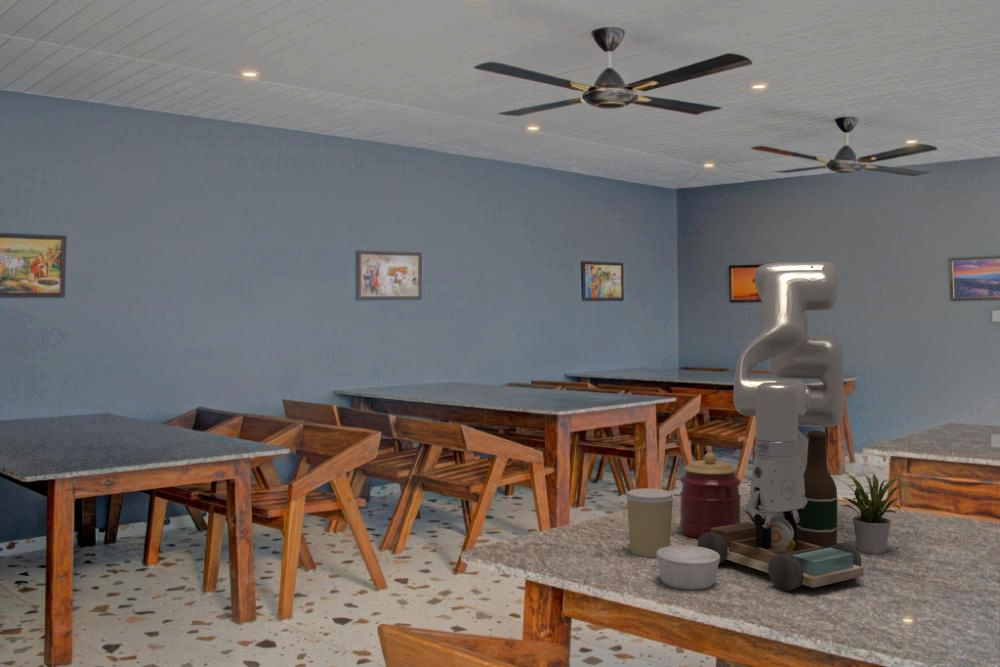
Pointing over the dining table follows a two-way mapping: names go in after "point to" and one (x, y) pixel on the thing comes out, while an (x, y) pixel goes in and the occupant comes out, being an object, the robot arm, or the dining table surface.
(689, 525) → the canister
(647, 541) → the coffee cup
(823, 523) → the beer bottle
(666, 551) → the ramekin
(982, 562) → the dining table surface
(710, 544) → the chassis
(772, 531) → the roller toy
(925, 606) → the dining table surface
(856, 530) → the house plant
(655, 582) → the dining table surface
